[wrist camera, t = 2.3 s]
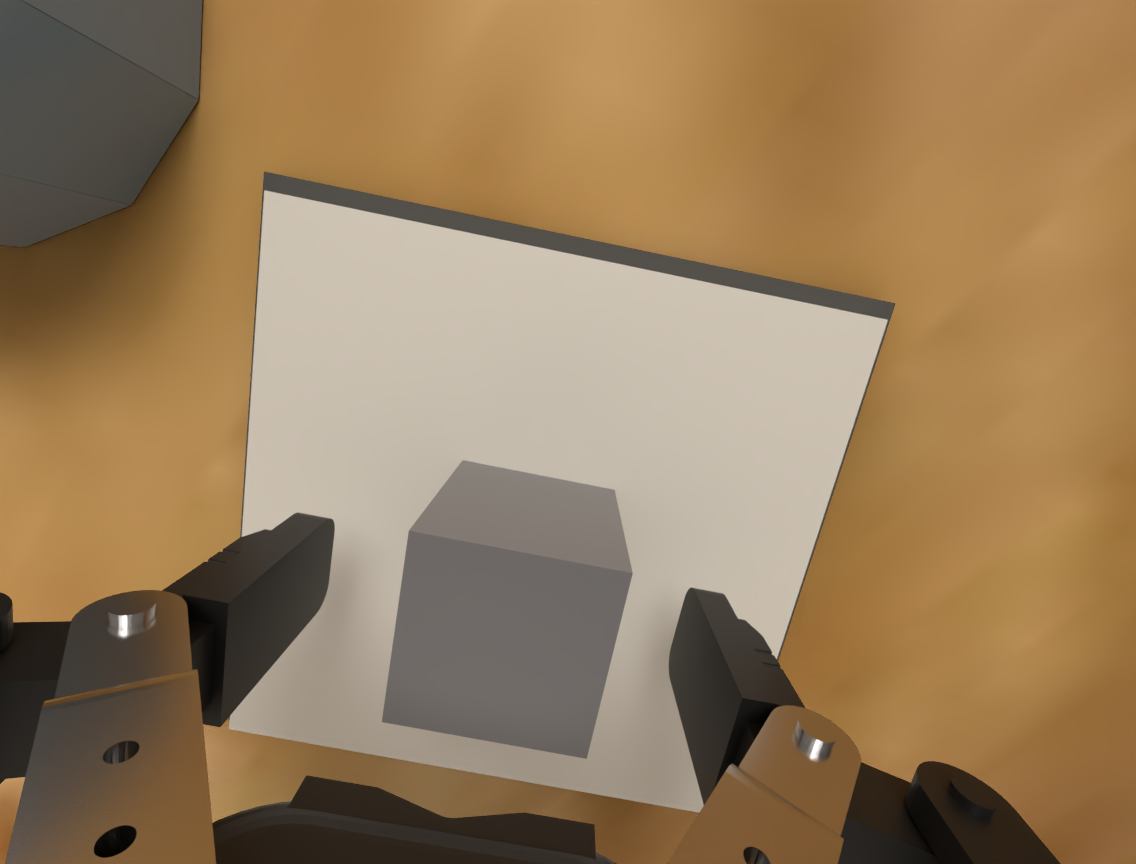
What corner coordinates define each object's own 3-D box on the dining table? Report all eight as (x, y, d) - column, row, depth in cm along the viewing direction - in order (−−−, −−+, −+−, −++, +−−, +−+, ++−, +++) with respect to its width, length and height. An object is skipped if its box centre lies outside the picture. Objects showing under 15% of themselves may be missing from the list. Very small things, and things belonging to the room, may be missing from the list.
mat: (884, 303, 14) (894, 303, 13) (725, 795, 17) (729, 809, 17) (275, 176, 13) (263, 171, 13) (238, 708, 17) (228, 719, 16)
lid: (869, 319, 13) (1053, 323, 8) (717, 793, 17) (781, 1008, 12) (282, 197, 13) (89, 122, 8) (245, 709, 16) (92, 893, 11)
